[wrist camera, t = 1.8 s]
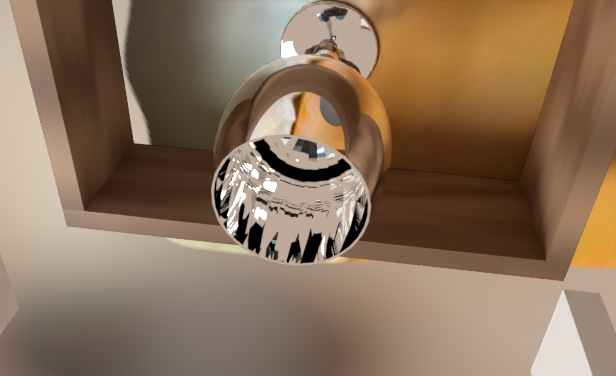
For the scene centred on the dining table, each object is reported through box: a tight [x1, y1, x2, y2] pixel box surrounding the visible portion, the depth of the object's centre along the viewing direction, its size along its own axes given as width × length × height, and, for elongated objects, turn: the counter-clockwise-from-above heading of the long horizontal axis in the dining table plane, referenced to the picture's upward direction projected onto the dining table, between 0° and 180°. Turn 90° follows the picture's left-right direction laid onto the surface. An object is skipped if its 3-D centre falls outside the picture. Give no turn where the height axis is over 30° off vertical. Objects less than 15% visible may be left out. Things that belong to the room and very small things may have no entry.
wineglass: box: [211, 1, 392, 265], centre depth 22 cm, size 6×6×12 cm
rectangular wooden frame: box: [9, 0, 616, 281], centre depth 24 cm, size 14×22×6 cm, turn 88°
